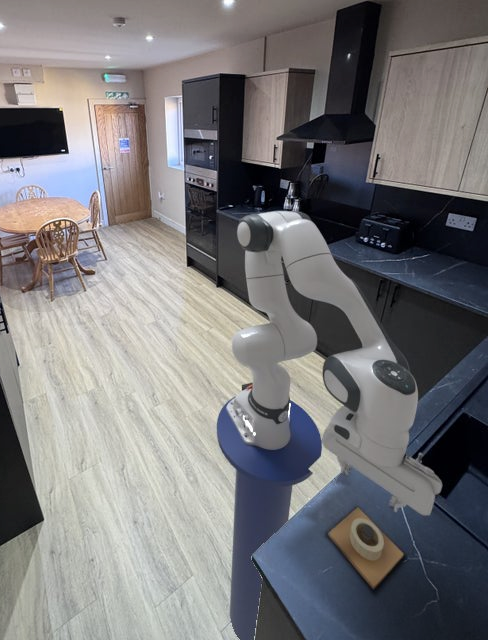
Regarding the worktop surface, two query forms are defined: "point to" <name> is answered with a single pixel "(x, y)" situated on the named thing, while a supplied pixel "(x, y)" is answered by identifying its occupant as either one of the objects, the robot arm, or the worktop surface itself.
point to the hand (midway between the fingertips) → (368, 489)
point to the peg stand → (368, 568)
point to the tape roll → (362, 548)
